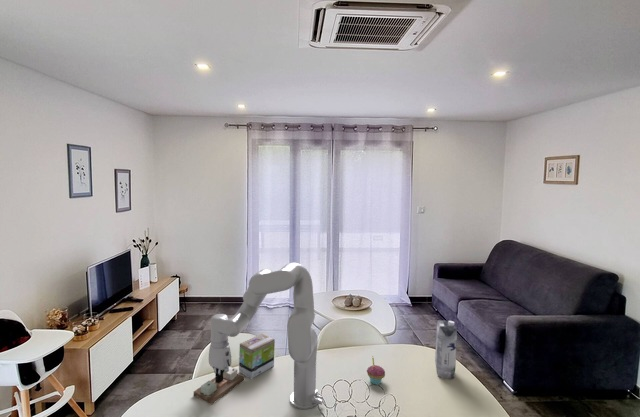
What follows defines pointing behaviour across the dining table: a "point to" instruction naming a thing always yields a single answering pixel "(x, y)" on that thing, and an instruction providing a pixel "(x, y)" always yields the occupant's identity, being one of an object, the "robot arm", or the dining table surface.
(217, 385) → the pink three-dot die face
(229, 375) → the two-pip tile
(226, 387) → the tile board
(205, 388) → the pale grey square block
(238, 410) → the dining table surface
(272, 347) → the tea box
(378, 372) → the cupcake
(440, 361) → the juice carton
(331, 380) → the dining table surface
